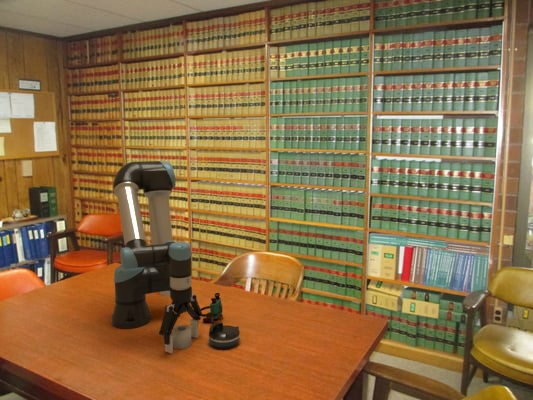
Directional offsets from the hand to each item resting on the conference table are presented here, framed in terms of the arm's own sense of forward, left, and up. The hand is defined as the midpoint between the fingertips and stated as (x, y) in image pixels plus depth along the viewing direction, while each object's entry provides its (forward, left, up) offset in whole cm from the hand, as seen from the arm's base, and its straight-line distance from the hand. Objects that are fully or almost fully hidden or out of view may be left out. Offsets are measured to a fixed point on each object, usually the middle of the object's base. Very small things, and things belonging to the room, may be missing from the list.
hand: (182, 344), depth 151 cm
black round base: (+12, +9, 0) cm, 15 cm away
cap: (0, 0, 0) cm, 0 cm away
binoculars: (-4, +22, 0) cm, 22 cm away
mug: (-40, +38, 0) cm, 55 cm away
